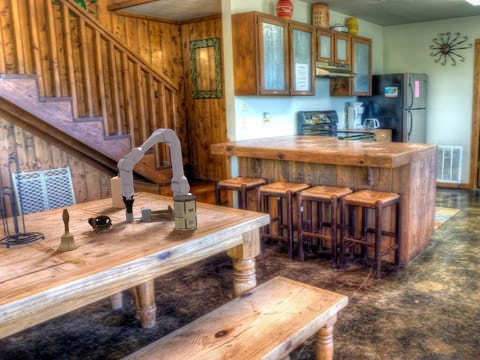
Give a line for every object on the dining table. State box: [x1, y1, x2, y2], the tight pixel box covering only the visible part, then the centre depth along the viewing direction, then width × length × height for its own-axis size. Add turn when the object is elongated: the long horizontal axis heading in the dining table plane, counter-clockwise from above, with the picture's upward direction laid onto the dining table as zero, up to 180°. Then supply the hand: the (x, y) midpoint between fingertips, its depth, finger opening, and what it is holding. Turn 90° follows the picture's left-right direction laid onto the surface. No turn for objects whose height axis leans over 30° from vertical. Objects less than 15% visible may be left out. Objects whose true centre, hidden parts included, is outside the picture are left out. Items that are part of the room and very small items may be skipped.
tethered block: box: [125, 206, 152, 223], centre depth 214 cm, size 12×4×6 cm, turn 106°
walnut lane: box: [150, 204, 174, 222], centre depth 217 cm, size 10×9×5 cm
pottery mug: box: [87, 214, 114, 235], centre depth 198 cm, size 12×10×8 cm
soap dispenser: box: [109, 169, 135, 209], centre depth 246 cm, size 13×9×22 cm
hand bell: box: [56, 208, 80, 252], centre depth 174 cm, size 8×8×16 cm
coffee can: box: [172, 195, 198, 232], centre depth 198 cm, size 10×10×14 cm
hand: (129, 211), depth 213 cm, fingers open, 7 cm apart
